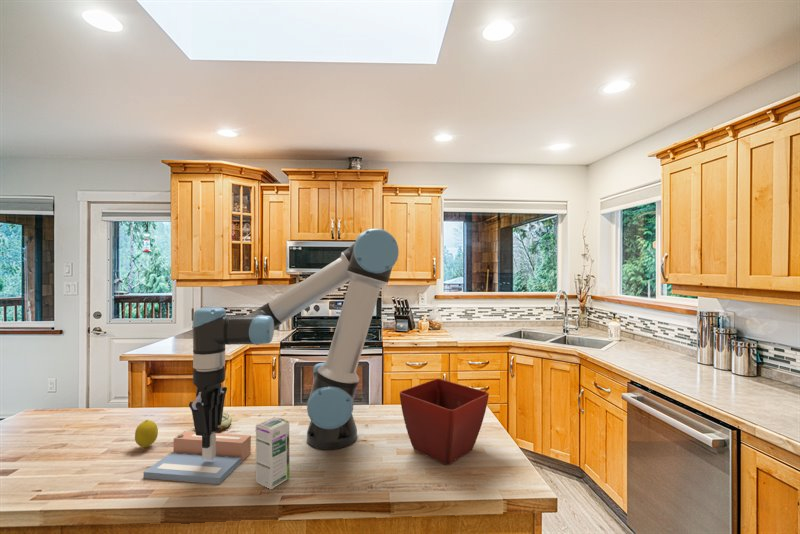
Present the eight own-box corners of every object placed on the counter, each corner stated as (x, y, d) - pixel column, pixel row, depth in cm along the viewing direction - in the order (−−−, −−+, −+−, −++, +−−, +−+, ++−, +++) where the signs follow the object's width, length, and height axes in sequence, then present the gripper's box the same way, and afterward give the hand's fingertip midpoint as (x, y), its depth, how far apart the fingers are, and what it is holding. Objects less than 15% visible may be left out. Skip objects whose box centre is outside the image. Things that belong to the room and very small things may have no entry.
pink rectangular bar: (250, 453, 106) (250, 434, 106) (242, 461, 102) (242, 441, 102) (184, 448, 108) (184, 430, 108) (173, 456, 104) (173, 437, 104)
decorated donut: (234, 430, 121) (234, 418, 121) (196, 438, 115) (197, 426, 115) (228, 418, 130) (228, 407, 129) (193, 426, 123) (193, 414, 123)
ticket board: (241, 462, 101) (241, 456, 101) (219, 484, 91) (219, 477, 91) (172, 457, 103) (172, 451, 103) (143, 478, 93) (143, 471, 93)
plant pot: (489, 449, 110) (490, 392, 110) (451, 476, 96) (452, 410, 96) (437, 429, 123) (437, 377, 123) (396, 450, 109) (397, 392, 109)
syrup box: (271, 490, 89) (271, 429, 89) (254, 482, 92) (255, 423, 92) (289, 479, 94) (290, 421, 94) (274, 471, 97) (274, 415, 97)
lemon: (146, 453, 105) (146, 424, 105) (129, 451, 106) (129, 423, 106) (162, 444, 111) (162, 417, 111) (146, 442, 112) (146, 415, 112)
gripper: (210, 360, 105) (210, 444, 105) (178, 374, 92) (178, 470, 92) (236, 361, 104) (236, 446, 104) (207, 375, 91) (207, 472, 91)
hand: (208, 457), depth 98 cm, fingers closed
